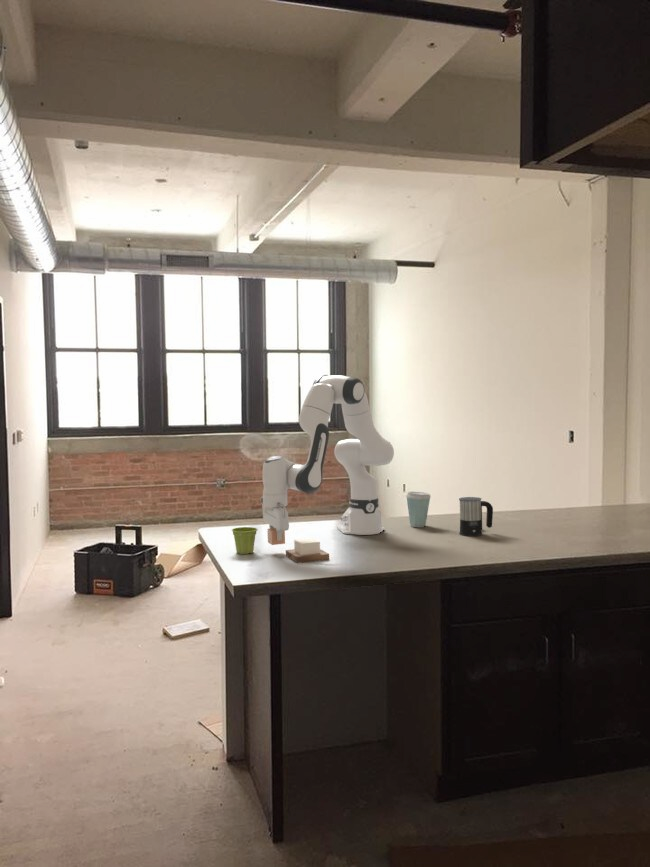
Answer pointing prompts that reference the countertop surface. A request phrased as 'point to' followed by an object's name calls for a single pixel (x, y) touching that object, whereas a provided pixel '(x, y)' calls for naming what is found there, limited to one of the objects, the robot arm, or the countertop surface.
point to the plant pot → (244, 539)
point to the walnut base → (307, 556)
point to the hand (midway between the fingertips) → (276, 538)
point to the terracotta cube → (272, 537)
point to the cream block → (307, 546)
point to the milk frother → (473, 516)
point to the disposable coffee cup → (418, 508)
